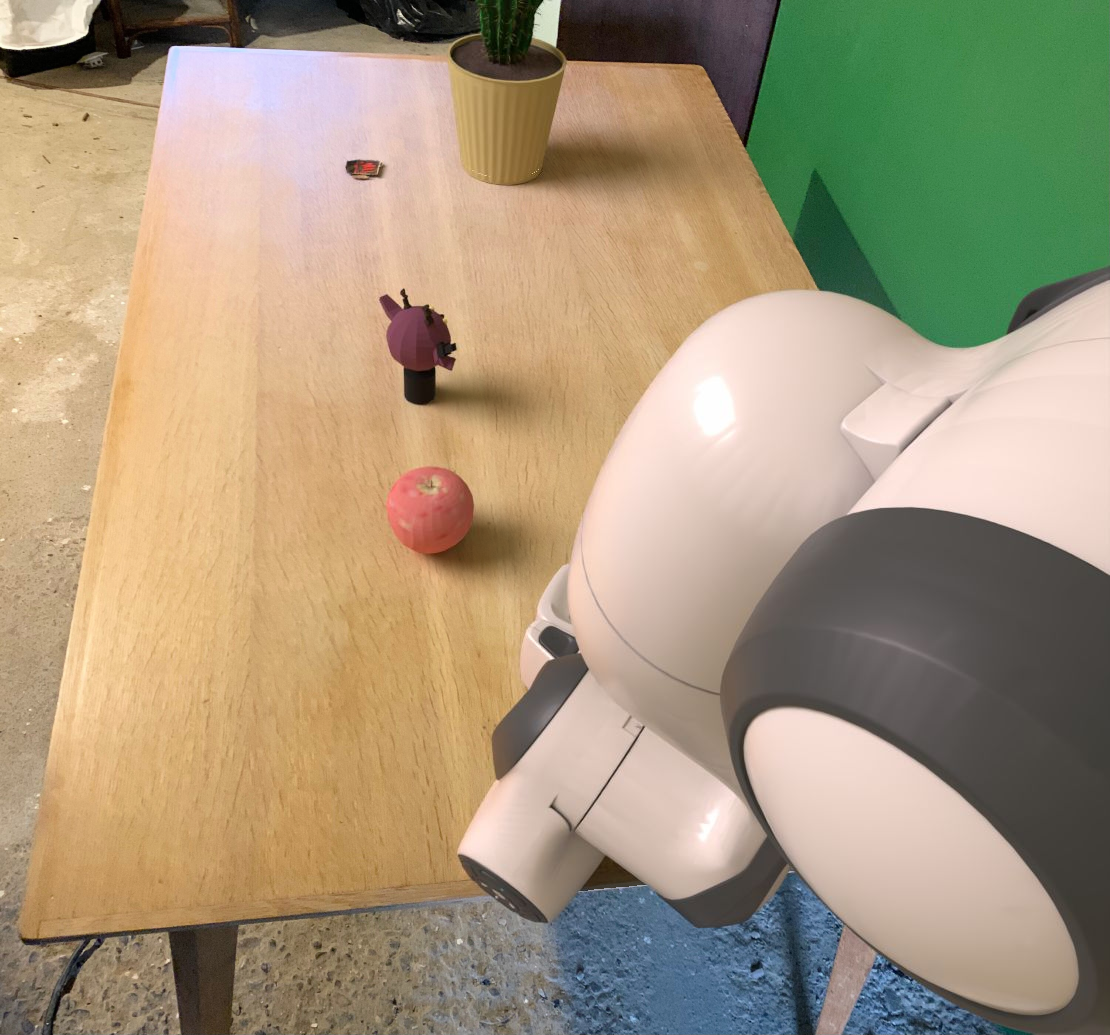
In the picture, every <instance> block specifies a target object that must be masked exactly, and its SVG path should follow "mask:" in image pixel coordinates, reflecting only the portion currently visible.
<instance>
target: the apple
mask: <svg viewBox="0 0 1110 1035" xmlns="http://www.w3.org/2000/svg"><path fill="white" fill-rule="evenodd" d="M385 509H386V515H387V521H388V523H389V526H390V527H391V530H392V531H393V533H394V535H395V536H396V538H397V539H398V540H399V541H400V543H401V544H402V545H404V546H405V547H406V548H409V549H410V550H412V551H414V552H417V553H421V554H428V555H429V554H431V555H432V554H437V553H442V552H444V551H447V550H449V549H450V548H452V547H454V546H456V545H457V544H458V543H460V542H461V541H462V540H463V539H464V538H465V537H466V535H467V534H468V532H469V530H470V528H471V526H472V524H473V520H474V513H475V502H474V496H473V494H472V491H471V489H470V488H469V485H468V484H467V483H466V482H465V481H464V479H463V478H462V477H461V476H460V475H458V474H457V473H456V472H454V471H452V470H450V469H448V468H445V467H439V466H431V465H430V466H429V465H427V466H421V467H417V468H414V469H411V470H409V471H407V472H406V473H404V474H402V475H401V476H400V477H399V478H398V479H397V480H395V481H394V483H393V485H392V486H391V488H390V489H389V491H388V494H387V499H386V504H385Z"/></svg>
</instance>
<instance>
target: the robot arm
mask: <svg viewBox="0 0 1110 1035" xmlns="http://www.w3.org/2000/svg"><path fill="white" fill-rule="evenodd" d="M549 581H550V582H549V583H548V584H547V586H546V587H545V589H544V590H543V593H542V594H541V596H540V599H539V601H538V603H537V607H536V614H535V620H534V621H532V623H531V624H529V625H528V627H527V628H526V631H525V633H524V637H523V639H522V644H521V648H520V658H519V673H520V674H519V675H520V680H521V681H522V683H523V684H524V686H525V687H526V688H527V689H528V690H527V691H526V692H525V693H524V694H523V696H522V697H521V698H520V699H519V701H517V703H516V704H515V705H513V707H512V708H511V709H510V710H509V711H508V712H507V713H506V714H505V716H504V717H503V718H502V719H501V720H500V721H499V722H498V724H497V725H496V726H495V728H494V730H493V732H492V734H491V740H490V742H491V748H492V749H491V751H492V752H491V753H492V764H493V769H494V774H495V780H494V782H493V784H492V785H491V787H490V788H489V790H488V792H487V793H486V794H485V797H483V800H482V802H481V804H480V805H479V806H478V808H477V810H476V812H475V813H474V816H473V818H472V820H471V821H470V823H469V825H468V827H467V829H466V831H465V833H464V835H463V837H462V839H461V841H460V844H459V846H458V848H457V852H456V853H457V857H458V860H459V862H460V864H461V865H460V866H461V868H462V869H463V870H464V872H465V873H466V874H467V876H468V877H469V878H470V880H472V881H473V882H475V884H476V885H477V886H478V887H479V888H480V889H482V890H483V891H484V892H485V893H486V894H488V895H489V896H490V897H491V898H493V899H494V900H495V901H497V902H498V903H500V904H501V905H502V906H504V907H505V908H506V909H508V910H509V911H510V912H513V913H515V914H516V915H518V916H519V917H521V918H523V919H525V920H527V921H530V922H532V923H535V924H537V923H540V924H551V923H552V922H554V921H555V920H556V919H557V918H558V917H559V916H560V915H561V914H562V913H563V911H565V909H567V907H568V905H570V903H571V902H572V901H573V900H574V898H575V897H576V896H577V895H578V893H579V892H580V891H581V889H583V887H584V886H585V884H586V883H587V882H588V880H590V878H591V877H592V875H593V874H594V872H595V871H596V870H597V869H598V867H599V866H600V864H601V863H602V861H603V860H604V859H605V857H608V858H609V859H610V860H611V861H613V862H615V863H616V864H617V865H619V866H620V867H621V868H622V869H624V870H626V871H627V872H628V873H629V874H631V875H632V876H633V877H635V878H636V879H637V880H639V881H640V882H642V883H643V884H644V885H646V886H647V887H649V888H650V889H651V890H652V891H654V892H655V893H656V895H657V896H658V897H659V898H660V899H661V900H662V901H663V902H665V903H666V904H667V906H669V907H671V908H672V909H673V910H674V911H676V912H677V914H679V915H680V916H681V917H682V918H683V919H684V920H686V921H687V922H688V923H690V924H691V926H693V927H694V928H697V929H712V928H715V929H716V928H724V927H730V926H734V925H740V924H743V923H746V922H748V921H749V920H750V919H751V918H752V917H753V916H754V914H755V915H756V913H757V912H758V911H760V910H761V909H762V908H763V907H764V906H766V904H767V903H768V902H770V900H771V899H772V898H773V897H774V895H776V893H777V892H778V890H779V889H780V887H781V885H782V884H783V883H784V881H785V879H786V877H787V875H788V874H789V871H790V869H792V871H793V872H794V873H795V875H796V876H797V877H798V878H799V879H800V880H801V881H802V883H803V884H804V885H805V886H806V887H807V888H808V890H810V892H811V893H812V894H813V895H814V896H815V898H817V899H818V900H819V901H820V902H821V903H822V904H823V905H824V907H826V909H827V910H829V911H830V912H831V913H832V915H833V916H834V917H835V918H837V920H839V922H841V923H842V924H843V925H845V926H846V928H847V929H849V930H850V931H851V932H852V933H853V934H854V935H855V936H856V937H858V938H859V939H860V940H861V941H862V942H863V943H864V944H866V945H867V946H868V947H869V948H871V949H872V951H874V952H875V953H876V954H877V955H879V956H880V957H882V958H883V959H884V960H886V961H887V962H888V963H890V964H891V965H892V966H894V968H896V969H898V970H899V971H900V972H901V973H903V974H904V975H906V976H908V977H909V978H910V979H912V980H914V981H915V982H917V983H918V984H919V985H921V986H922V987H924V988H925V989H927V990H928V991H930V992H932V993H933V994H935V995H937V996H938V997H940V998H942V999H943V1000H945V1001H947V1002H949V1003H951V1004H953V1005H954V1006H956V1007H959V1008H961V1009H962V1010H964V1011H967V1012H969V1013H970V1014H972V1015H975V1016H977V1017H978V1018H982V1019H984V1020H986V1021H989V1022H991V1023H994V1024H996V1025H999V1026H1002V1027H1005V1028H1008V1029H1012V1030H1014V1031H1015V1030H1016V1031H1019V1032H1023V1033H1027V1034H1032V1035H1110V265H1109V266H1105V267H1101V268H1099V269H1094V270H1091V271H1088V272H1085V273H1082V274H1079V275H1076V276H1072V277H1069V278H1066V279H1062V280H1058V281H1056V282H1052V283H1049V284H1046V285H1043V286H1040V287H1036V288H1035V289H1033V290H1031V291H1030V292H1028V293H1027V294H1026V295H1025V296H1024V297H1023V298H1022V299H1021V301H1020V302H1019V303H1018V304H1017V307H1016V309H1015V310H1014V313H1013V315H1012V318H1011V320H1010V322H1009V324H1008V327H1007V330H1006V333H1005V335H1004V336H1002V337H999V338H998V339H995V340H993V341H990V342H985V343H984V344H979V345H977V346H970V347H952V346H951V347H950V346H946V345H941V344H938V343H936V342H933V341H931V340H930V339H928V338H926V337H924V335H921V334H920V333H918V332H917V331H915V330H914V328H912V326H910V325H909V324H907V323H905V321H903V320H901V319H899V318H898V317H897V316H896V315H894V314H891V313H889V312H887V311H886V310H884V309H883V308H881V307H879V306H876V305H874V304H872V303H870V302H867V301H865V300H863V299H859V298H857V297H853V296H850V295H847V294H842V293H837V292H833V291H829V290H820V289H818V290H817V289H808V288H807V289H805V288H804V289H802V288H801V289H799V288H797V289H796V288H795V289H794V288H792V289H789V288H788V289H782V290H781V289H780V290H775V291H774V290H773V291H769V292H765V293H761V294H758V295H754V296H749V297H746V298H744V299H742V300H738V301H737V302H735V303H732V304H730V305H728V306H726V307H725V308H722V309H721V310H719V311H718V312H716V313H715V314H713V315H711V316H710V317H708V318H707V319H706V320H704V321H703V322H702V324H700V325H699V326H697V327H696V329H695V330H694V331H693V332H691V333H690V334H689V335H688V336H687V337H686V339H684V341H683V342H682V343H681V345H680V346H679V347H678V348H677V350H675V352H674V353H673V354H672V356H671V357H670V358H669V359H668V360H667V361H666V363H665V364H664V365H663V366H662V367H661V369H660V370H659V371H658V373H657V374H656V375H655V377H654V378H653V380H652V381H651V383H650V384H649V385H648V387H647V389H646V390H645V391H644V393H643V394H642V396H641V397H640V398H639V400H638V401H637V403H636V404H635V406H634V407H633V409H632V411H631V412H630V414H629V415H628V417H627V418H626V420H625V422H624V424H623V426H622V427H621V429H620V430H619V432H618V434H617V435H616V438H615V440H614V441H613V443H612V445H611V447H610V449H609V452H608V453H607V455H606V458H605V459H604V461H603V464H602V466H601V468H600V470H599V471H598V474H597V477H596V479H595V481H594V484H593V486H592V489H591V492H590V494H589V497H588V499H587V502H586V505H585V508H584V510H583V514H582V516H581V519H580V521H579V525H578V528H577V531H576V534H575V538H574V542H573V546H572V550H571V553H570V560H569V563H565V564H563V565H562V566H561V567H559V569H558V570H557V571H556V573H555V574H554V576H552V578H551V579H550V580H549Z"/></svg>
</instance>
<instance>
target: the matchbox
mask: <svg viewBox="0 0 1110 1035" xmlns="http://www.w3.org/2000/svg"><path fill="white" fill-rule="evenodd" d="M380 167H384V164H383V162H381V160H379V159H360V158H358V159H354V160H348V159H347V160H346V162H345V170H346V173H347V174H351V177H352V178H353V179H356V180H359V179H369V178H370V175H378V174H379V171H380Z"/></svg>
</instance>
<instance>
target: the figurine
mask: <svg viewBox="0 0 1110 1035" xmlns="http://www.w3.org/2000/svg"><path fill="white" fill-rule="evenodd" d="M399 294H400V296H401V297H402V303H403V307H402V306H400V304H398V303H397V302H396V301H395V300H394V299H393V298H392V297H391V296H390V295H389V294H388V293H386V294H384V295H382V296H380V297H379V299H378V301H379V304H380V305H381V307H382V309H383V311H384V314H385V315H386V317H387V318H388V319H389V320H390V321H391V322H390V323H389V325H388V327H387V329H386V334H385V336H386V337H385V338H386V342H387V347H388V349H389V353H390V356H391V357H392V358H393V360H394V361H395V362H397V363H398V364H400V365H401V366H402V367H403V396H404V399H405V400H406V401H407V402H409V403H410V404H413V405H417V406H418V405H419V406H422V405H428V404H430V403H432V402H433V401H434V400H435V399H436V396H437V395H436V393H437V391H436V390H437V388H436V387H437V386H436V385H437V382H436V380H437V379H436V378H437V376H436V375H437V374H436V373H437V371H436V367H437V366H439V367H441V368H443V369H445V370H448V371H453V368H454V365H455V363H456V362H457V358H456V357H454V356H450V355H452V354H453V352H456V351H458V349H457V343H456V342H453V343H452V337H451V333H450V330H449V326H448V324H447V323H448V320H447V318H445V314H444V313H438V312H437V311H435V307H434V306H430V305H429V304H428V303H426V304H425V305H411V303H410V301H409V295H408V294H406V289H405V288H402V289H401V290H400V292H399Z"/></svg>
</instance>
